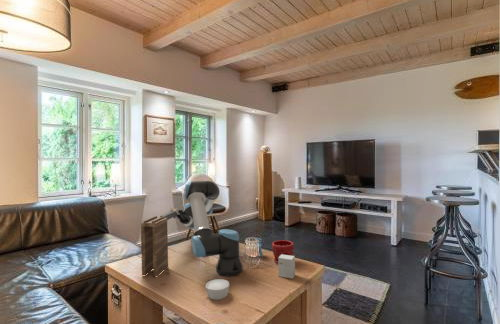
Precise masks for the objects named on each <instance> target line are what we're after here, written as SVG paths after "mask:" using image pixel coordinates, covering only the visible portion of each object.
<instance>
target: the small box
mask: <svg viewBox="0 0 500 324" xmlns="http://www.w3.org/2000/svg"><path fill="white" fill-rule="evenodd" d="M277 265H278V266H277V267H278V277H280V278H285V279H286V278H287V279H294V277H295V276H296V257H295V255H292V256H290V255H283V254H281V255H280V256H279V258H278V263H277Z"/></svg>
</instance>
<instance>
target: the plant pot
mask: <svg viewBox="0 0 500 324" xmlns="http://www.w3.org/2000/svg"><path fill="white" fill-rule="evenodd" d="M271 244H272V247H271V248H272V254H273V256H274V257H273V261H274V263H276V264H278V258H279V256H280V255H281V254H283V255H290V256H294V242H292V241H290V240H283V239H281V240H275V241H272V242H271Z"/></svg>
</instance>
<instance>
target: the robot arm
mask: <svg viewBox="0 0 500 324" xmlns="http://www.w3.org/2000/svg"><path fill="white" fill-rule="evenodd" d="M219 196H220V188H219V186H218V184H216V183H215V182H214V181H210V180H201V181H198V180H197V181H187V182H186V183H185V186H184V200H186V201H187V203H185V204H184V206H183V208H184V210H182V209H180V208H178V207H175V208H173V207H169V212H170V211H172V210H175V212H176V213H178V214H179V215H177V216H175V217H173V218H172V219H178V220H179V223H180V224H182V225H184V226H185V227H186V228H187V229H189V230H194V233H193V235H192V236H191V239H190V245H191V251H192V253H193V255H194V257H195V258H205V257H211V256H212V257H213V256H218V261H217V262H216V263H217V264H216V269H215V270H216V274H218V275H219V276H223V277H233V276H237V275H239V274H241V273H242V272H243V264H242V260H241V258H240V235H239V232H238V231H236V230H234V229H230V228H229V229H228V228H223V229H219V230H218V231H217V232H218V233H214V231H213V229H212V228H211V227H210V223H209V219H208V215H211V214H213V211H214V209H213V205H214V203H215V200H217V199H218V198H219ZM179 209H180V210H179Z"/></svg>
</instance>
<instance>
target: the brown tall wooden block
mask: <svg viewBox="0 0 500 324" xmlns="http://www.w3.org/2000/svg"><path fill="white" fill-rule="evenodd" d="M168 233H169V232H168V220H167V218H165V216H162V217H158V216H157V215H154V216H152V217H150V218H147V219H144V220H143V221H142V222H140V237H141V238H140V240H141V241H140V242H141V243H140V244H141V246H140V247H141V248H140V249H141V251H140V252H141V276H142V275H146V274H147V273H149V272H150V271H151V270H152V269H154V270H153V277H154V276H158V275H159V274H160V273H161V272H162V271H163V270H165V269H166V268H167V267H168V268H169V249H168V248H169V247H168V246H169V245H168V244H169V241H168V235H169V234H168ZM168 268H167V269H168ZM167 269H166V270H167ZM166 270H165V271H166ZM149 274H150V273H149ZM159 276H160V275H159ZM159 276H158V277H159Z"/></svg>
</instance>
